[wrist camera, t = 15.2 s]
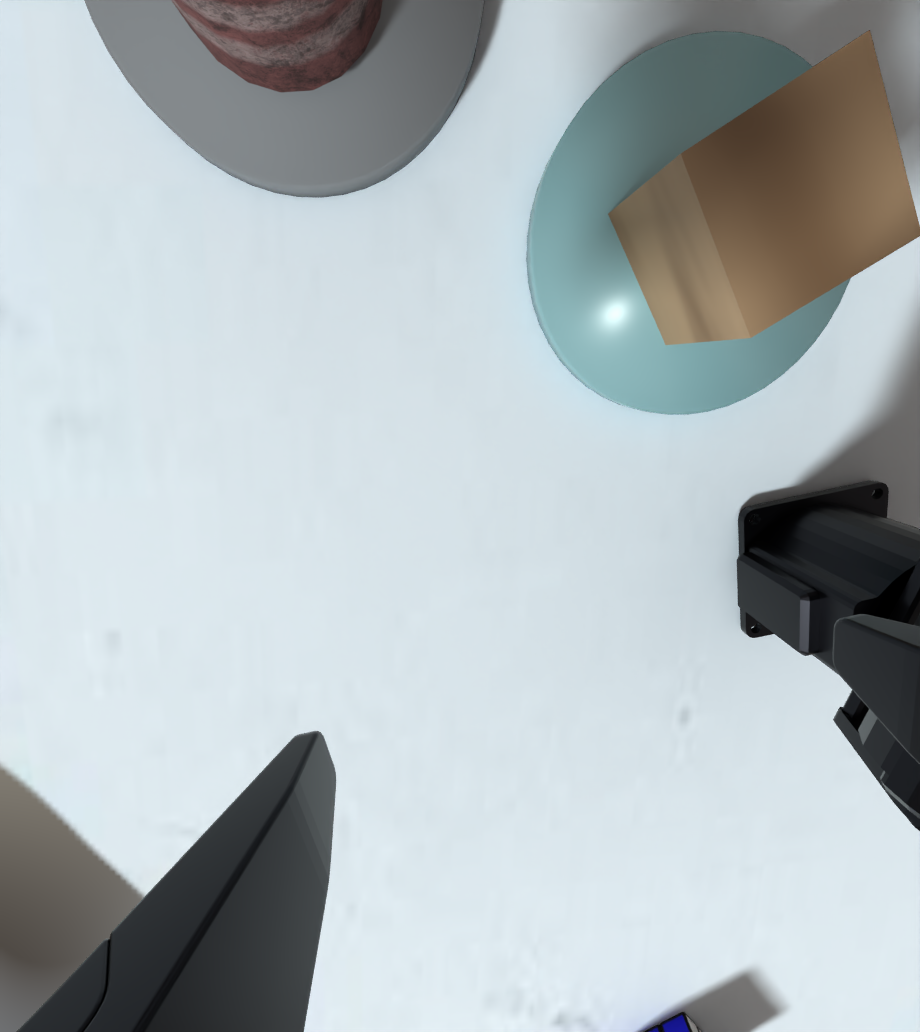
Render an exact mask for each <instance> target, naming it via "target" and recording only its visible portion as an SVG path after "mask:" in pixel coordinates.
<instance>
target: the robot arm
mask: <svg viewBox="0 0 920 1032" xmlns="http://www.w3.org/2000/svg"><path fill="white" fill-rule="evenodd" d="M874 490H875V492H874V494H873V495H872V492H873V491H874ZM888 492H889V491H888V487H887V485H886V484H884V483H881V482H877V481H867V482H862V483H858V484H853V485H848V486H843V487H839V488H834V489H829V490H825V491H820V492H815V493H810V494H806V495H801V496H796V497H792V498H787V499H782V500H777V501H773V502H768V503H763V504H758V505H754V506H749V507H747V508H744V509H743V510H742V511H741V513H740V514H739V518H738V533H739V556H738V559H737V583H738V606H739V607H740V619H741V630H742V631H743V632H744V633H745V634H747V635H748V636H749V637H752V638H757V637H762V636H766V635H771V634H775V635H777V636H778V637H779V638H781V639H782V640H783V641H785V642H786V643H787V644H788V645H790V646H791V647H792V648H794V649H795V650H796V651H798V652H799V653H801V654H802V655H804V656H808V655H813V656H815V657H816V658H817V659H819V660H820V661H821V662H823V663H824V664H825V665H827V666H828V667H829V668H831V669H832V670H833V671H835V672H836V673H837V674H839V675H840V676H841V677H842V678H843V680H844V681H845V682H846V683H847V684H848V685H849V686H850V688H851V689H852V691H851V693H850V695H849V697H848V699H847V701H846V703H845V705H844V707H840V708H839V709H838V711H837V713H836V715H835V717H834V719H833V720H834V722H835V723H836V725H837V726H838V727H839V729H840V730H841V731H842V733H843V734H844V735H845V737H846V738H847V740H848V741H849V742H850V744H851V745H852V746H853V748H854V749H855V750H856V752H857V753H858V755H859V756H860V757H861V759H862V760H863V761H864V763H865V764H866V765H867V767H868V768H869V770H870V771H871V772H872V774H873V775H874V776H875V778H876V779H877V780H878V782H879V783H880V785H881V786H882V787H883V789H884V790H885V791H886V793H887V794H888V795H889V797H890V798H891V799H892V801H893V802H894V803H895V805H896V806H897V807H898V808H899V809H900V810H901V811H902V813H903V814H904V815H905V816H906V817H907V818H908V819H909V821H910V822H911V823H912V825H913V826H914V827H915V828H917V829H918V830H919V831H920V529H919V528H916V527H912V526H909V525H906V524H903V523H900V522H897V521H894V520H891V519H888V518H887V505H888ZM752 515H755V517H754V519H753V521H751V522H749V520H750V517H751V516H752ZM754 624H756V625H755V627H754V628H752V629H751V627H752V626H753V625H754ZM335 792H336V772H335V768H334V764H333V762H332V759H331V756H330V753H329V750H328V747H327V745H326V742H325V739H324V737H323V735H322V733H321V732H319V731H313V732H308V733H304V734H299V735H297V736H295V737H294V738H293V739H292V740H291V741H290V742H289V743H288V744H287V745H286V746H285V747H284V748H283V749H282V750H281V752H280V753H279V754H278V755H277V756H276V757H275V758H274V759H273V760H272V761H271V762H270V763H269V764H268V765H267V766H266V768H265V769H264V770H263V771H262V772H261V773H260V774H259V775H258V776H257V777H256V778H255V779H254V780H253V781H252V783H251V784H250V785H249V786H248V787H247V788H246V789H245V790H244V791H243V792H242V793H241V794H240V795H239V796H238V798H237V799H236V800H235V801H234V802H233V803H232V804H231V805H230V806H229V807H228V808H227V809H226V810H225V811H224V813H223V814H222V815H221V816H220V817H219V818H218V819H217V820H216V821H215V822H214V823H213V824H212V825H211V826H210V827H209V829H208V830H207V831H206V832H205V833H204V834H203V835H202V836H201V837H200V838H199V839H198V840H197V841H196V842H195V844H194V845H193V846H192V847H191V848H190V849H189V850H188V851H187V852H186V853H185V854H184V855H183V856H182V857H181V859H180V860H179V861H178V862H177V863H176V864H175V865H174V866H173V867H172V868H171V869H170V870H169V871H168V872H167V874H166V875H165V876H164V877H163V878H162V879H161V880H160V881H159V882H158V883H157V884H156V885H155V886H154V887H153V888H152V890H151V891H150V892H149V893H148V894H147V895H146V896H145V897H144V898H143V899H142V900H141V901H140V902H139V903H138V905H137V906H136V907H135V908H134V909H133V910H132V911H131V912H130V913H129V914H128V915H127V916H126V918H124V919H123V921H122V922H121V923H120V924H119V925H118V926H117V927H116V928H115V929H114V930H113V931H112V933H111V934H110V939H105V940H104V941H103V942H102V943H101V944H100V945H99V946H98V947H97V948H96V949H95V950H94V951H93V952H92V954H91V955H90V956H89V957H88V958H87V959H86V960H85V961H84V962H83V963H82V964H81V965H80V966H79V967H78V968H77V970H76V971H75V972H74V973H73V974H72V975H71V976H70V977H69V978H68V979H67V980H66V981H65V982H64V983H63V984H62V985H61V986H60V987H59V988H58V989H57V990H56V991H55V992H54V994H53V995H52V996H51V997H50V998H49V999H48V1000H47V1001H46V1002H45V1003H44V1004H43V1005H42V1006H41V1007H40V1008H39V1009H38V1010H37V1011H36V1012H35V1013H34V1014H33V1016H31V1018H30V1019H29V1020H28V1021H27V1022H26V1023H25V1024H24V1025H23V1026H22V1027H21V1028H20V1029H19V1030H17V1032H304V1026H305V1020H306V1015H307V1009H308V1003H309V997H310V991H311V985H312V979H313V973H314V968H315V962H316V956H317V950H318V944H319V938H320V932H321V926H322V921H323V915H324V909H325V903H326V897H327V890H328V883H329V875H330V864H331V850H332V835H333V821H334V806H335Z"/></svg>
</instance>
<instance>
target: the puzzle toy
mask: <svg viewBox="0 0 920 1032" xmlns="http://www.w3.org/2000/svg"><path fill="white" fill-rule="evenodd" d="M660 1025H661V1027H660V1026H659V1025H656V1026H654V1027H652V1028H650V1029H649V1030H647V1031H645V1032H702V1031H701V1030H700V1029H699V1028H698V1027H697V1026H696V1025H695V1024H694V1023H693V1022H692V1020H691V1019H690V1018H689V1017H688V1016H687V1015H686V1014H685V1013H684V1012H682V1013H680V1014H678V1015H676V1016H674V1017H672V1018H670V1019H668V1020H666V1021H664V1022H662V1023H661V1024H660Z"/></svg>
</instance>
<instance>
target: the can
mask: <svg viewBox="0 0 920 1032" xmlns="http://www.w3.org/2000/svg"><path fill="white" fill-rule="evenodd" d="M171 1H172V2H173V4H174V5H175V7H176V8H177V9H178V11H179V12H180V14H181V15H182V17H183V18H184V19H185V21H186V22H187V24H188V25H189V27H190V28H191V29H192V31H193V32H194V33H195V34H196V35H197V37H198V38H199V39H200V40H201V42H202V43H203V44H204V45H205V46H206V48H207V49H208V50H209V51H210V53H211V54H212V55H213V56H214V57H215V59H216V60H217V61H218V62H220V63H221V64H222V65H224V66H225V67H227V68H228V69H230V70H231V71H232V72H234V73H235V74H237V75H238V76H239V77H241V78H242V79H244V80H245V81H247V82H248V83H251V84H254V85H258V86H261V87H264V88H268V89H271V90H274V91H277V92H296V91H312V90H315V89H317V88H319V87H321V86H323V85H325V84H327V83H329V82H331V81H333V80H335V79H337V78H339V77H341V76H342V75H343V74H344V73H345V72H346V71H347V70H348V69H349V68H350V67H351V66H352V65H353V64H354V62H355V61H356V60H357V59H358V58H359V57H360V56H361V55H362V54H363V53H364V52H365V50H366V47H367V45H368V43H369V41H370V39H371V37H372V34H373V32H374V30H375V28H376V26H377V23H378V21H379V19H380V15H381V8H382V2H383V0H171Z"/></svg>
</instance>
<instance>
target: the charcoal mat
mask: <svg viewBox="0 0 920 1032" xmlns="http://www.w3.org/2000/svg"><path fill="white" fill-rule="evenodd" d="M85 3H86V6H87V8H88V11H89V13H90V16H91V18H92V21H93V23H94V25H95V27H96V28H97V30H98V32H99V34H100V36H101V38H102V40H103V42H104V44H105V46H106V48H107V50H108V52H109V53H110V55H111V56H112V58H113V60H114V61H115V63H116V64H117V66H118V67H119V69H120V70H121V72H122V73H123V75H124V77H125V78H126V80H127V81H128V82H129V83H130V85H131V86H132V87H133V88H134V90H135V91H136V92H137V93H138V95H139V96H140V97H141V98H142V100H143V101H144V102H145V103H146V105H147V106H148V107H149V108H150V109H151V110H152V111H153V112H154V113H155V114H156V115H157V116H158V117H159V118H160V119H161V120H162V121H163V122H164V123H165V124H166V125H167V126H168V127H169V128H170V129H171V130H172V131H173V132H174V133H176V134H177V135H178V136H179V137H180V138H181V139H182V140H183V141H184V142H185V143H186V144H187V145H189V146H190V147H191V148H192V149H194V150H195V151H196V152H197V153H199V154H200V155H201V156H202V157H204V158H205V159H206V160H207V161H209V162H210V163H212V164H213V165H215V166H217V167H218V168H220V169H221V170H223V171H225V172H226V173H228V174H229V175H231V176H233V177H235V178H238V179H240V180H242V181H244V182H246V183H248V184H250V185H253V186H255V187H259V188H262V189H265V190H268V191H271V192H275V193H279V194H285V195H291V196H297V197H329V196H337V195H344V194H348V193H351V192H355V191H358V190H362V189H365V188H368V187H370V186H372V185H374V184H376V183H378V182H381V181H383V180H385V179H387V178H388V177H390V176H391V175H393V174H394V173H396V172H397V171H399V170H400V169H402V168H404V167H405V166H406V165H407V164H408V163H410V162H411V161H412V160H413V159H414V158H415V157H416V156H417V155H419V154H420V153H421V152H422V151H423V150H424V149H425V148H426V146H427V145H428V144H429V143H430V142H431V141H432V139H433V138H434V137H435V136H436V135H437V134H438V132H439V131H440V129H441V128H442V126H443V125H444V123H445V122H446V120H447V118H448V117H449V115H450V114H451V112H452V111H453V109H454V107H455V104H456V102H457V100H458V98H459V96H460V94H461V92H462V90H463V88H464V85H465V82H466V80H467V77H468V74H469V71H470V68H471V65H472V62H473V58H474V54H475V49H476V45H477V40H478V36H479V31H480V25H481V19H482V13H483V6H484V0H383V2H382V8H381V15H380V19H379V21H378V23H377V26H376V28H375V30H374V32H373V34H372V37H371V39H370V41H369V43H368V45H367V47H366V50H365V52H364V53H363V54H362V55H361V56H360V57H359V58H358V59H357V60H356V61H355V62H354V64H353V65H352V66H351V67H350V68H349V69H348V70H347V71H346V72H345V73H344V74H343V75H342V76H341V77H339V78H337V79H335V80H333V81H331V82H329V83H327V84H325V85H323V86H321V87H319V88H317V89H315V90H312V91H296V92H277V91H274V90H271V89H268V88H264V87H261V86H258V85H254V84H251V83H248V82H247V81H245V80H244V79H242V78H241V77H239V76H238V75H237V74H235V73H234V72H232V71H231V70H230V69H228V68H227V67H225V66H224V65H222V64H221V63H220V62H218V61H217V60H216V59H215V57H214V56H213V55H212V54H211V53H210V51H209V50H208V49H207V48H206V46H205V45H204V44H203V43H202V42H201V40H200V39H199V38H198V37H197V35H196V34H195V33H194V32H193V31H192V29H191V28H190V27H189V25H188V24H187V22H186V21H185V19H184V18H183V17H182V15H181V14H180V12H179V11H178V9H177V8H176V7H175V5H174V4H173V2H172V1H171V0H85Z"/></svg>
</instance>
